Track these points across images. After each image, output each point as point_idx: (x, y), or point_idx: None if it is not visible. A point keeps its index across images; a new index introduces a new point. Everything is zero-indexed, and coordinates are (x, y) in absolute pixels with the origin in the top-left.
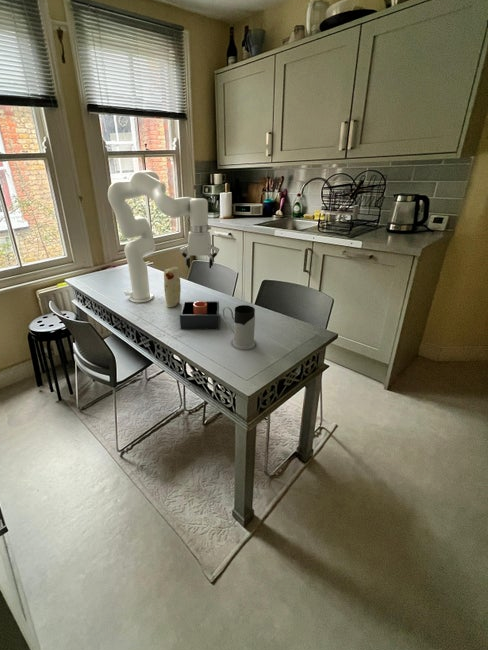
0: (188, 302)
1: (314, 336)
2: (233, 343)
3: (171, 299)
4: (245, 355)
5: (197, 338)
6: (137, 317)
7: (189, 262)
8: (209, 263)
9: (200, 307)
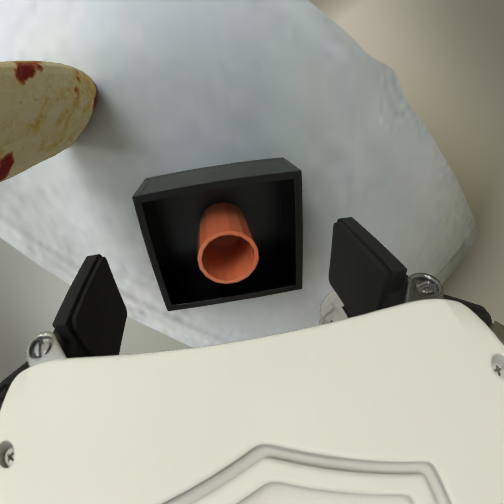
0: (157, 199)
1: (460, 248)
2: (322, 315)
3: (65, 146)
4: None
5: (234, 310)
6: (21, 236)
7: (112, 341)
8: (350, 311)
9: (235, 280)
